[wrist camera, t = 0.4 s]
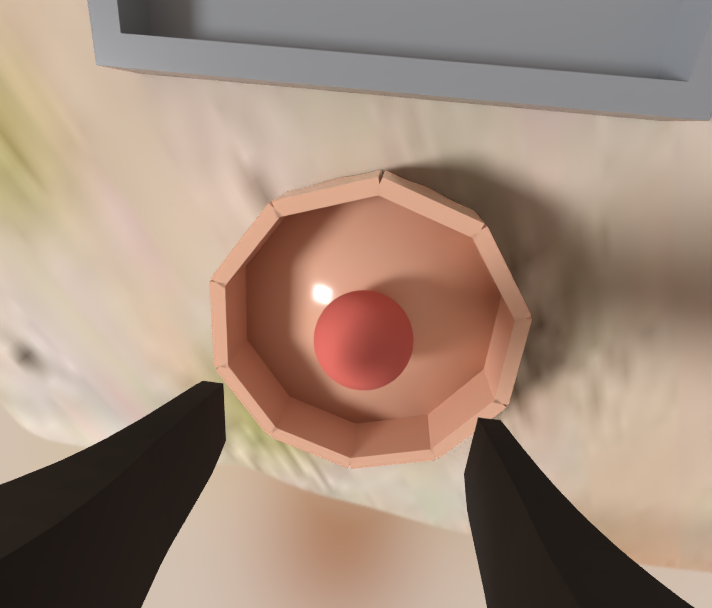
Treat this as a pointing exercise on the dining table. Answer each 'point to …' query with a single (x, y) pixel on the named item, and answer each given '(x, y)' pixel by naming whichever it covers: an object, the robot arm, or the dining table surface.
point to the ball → (363, 340)
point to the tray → (431, 49)
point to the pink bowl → (380, 274)
